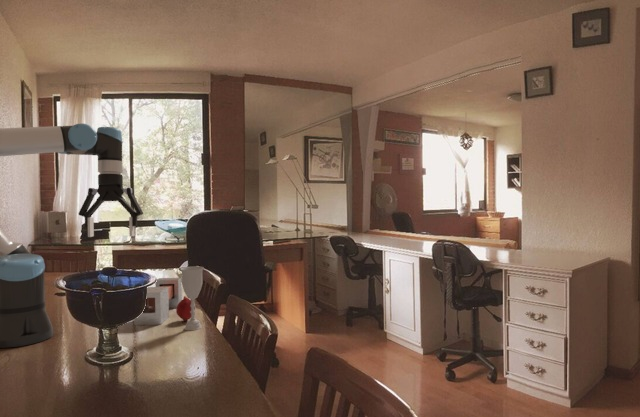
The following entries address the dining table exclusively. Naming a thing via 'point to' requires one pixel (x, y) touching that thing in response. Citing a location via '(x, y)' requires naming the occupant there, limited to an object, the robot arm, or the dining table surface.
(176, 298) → the socket
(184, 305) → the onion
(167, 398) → the dining table surface
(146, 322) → the plate
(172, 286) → the pink square post
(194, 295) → the chalice
